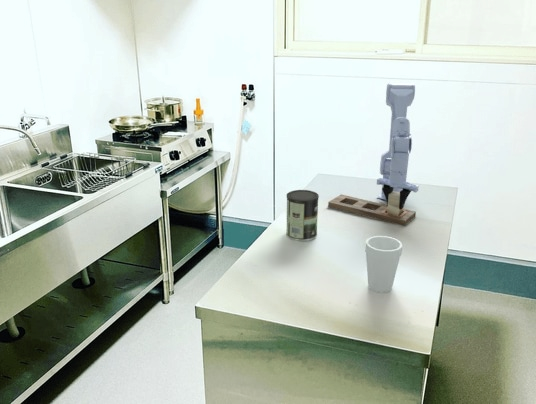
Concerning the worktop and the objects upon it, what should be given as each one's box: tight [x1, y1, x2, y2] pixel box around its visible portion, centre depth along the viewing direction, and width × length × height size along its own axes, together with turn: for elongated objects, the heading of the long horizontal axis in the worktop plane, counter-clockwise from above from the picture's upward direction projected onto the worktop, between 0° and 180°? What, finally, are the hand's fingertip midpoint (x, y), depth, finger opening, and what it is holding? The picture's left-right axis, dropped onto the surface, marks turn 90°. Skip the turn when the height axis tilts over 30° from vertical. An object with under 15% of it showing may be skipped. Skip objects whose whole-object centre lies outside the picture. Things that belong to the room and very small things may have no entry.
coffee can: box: [286, 189, 320, 242], centre depth 172 cm, size 10×10×14 cm
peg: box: [387, 191, 403, 216], centre depth 187 cm, size 4×4×8 cm
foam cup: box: [364, 235, 403, 294], centre depth 141 cm, size 10×9×13 cm
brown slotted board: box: [327, 193, 417, 227], centre depth 193 cm, size 10×30×2 cm, turn 55°
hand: (395, 207), depth 187 cm, fingers closed on peg, 4 cm apart
